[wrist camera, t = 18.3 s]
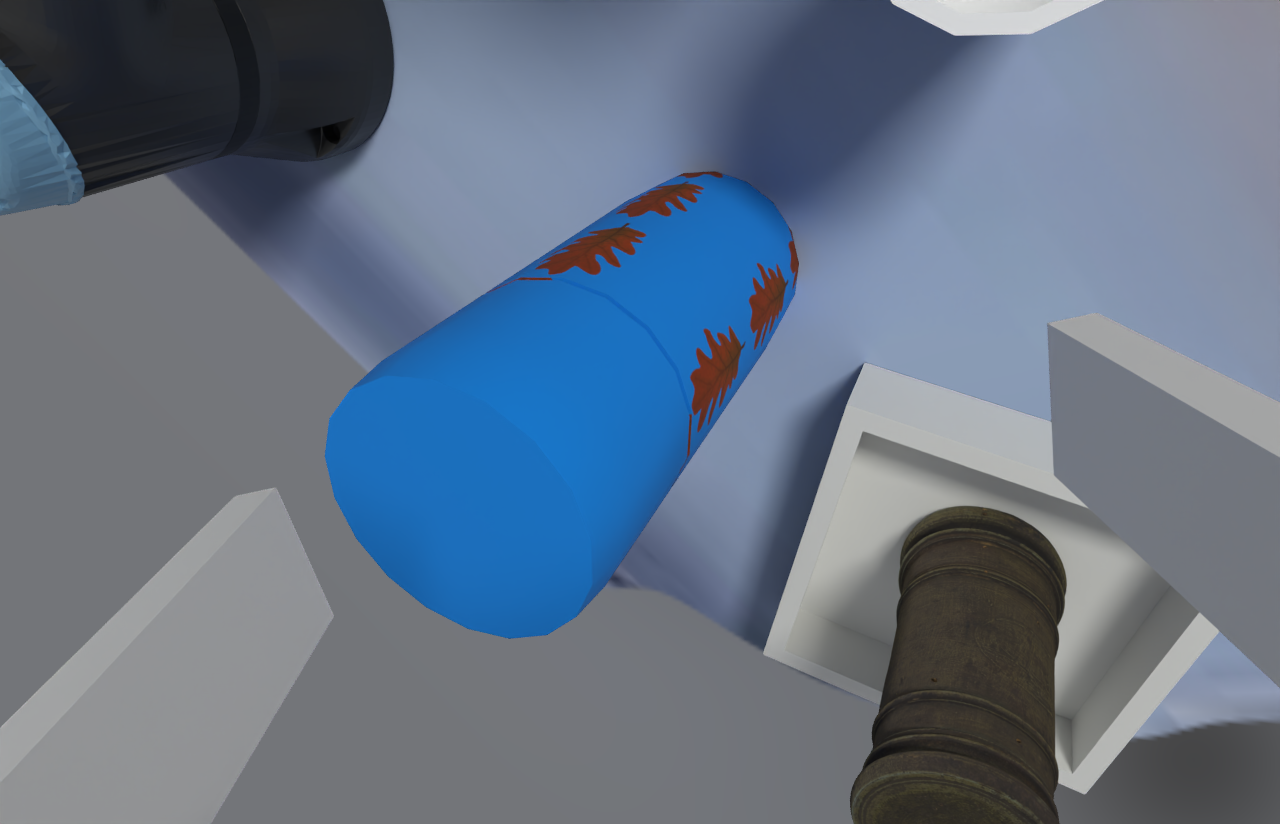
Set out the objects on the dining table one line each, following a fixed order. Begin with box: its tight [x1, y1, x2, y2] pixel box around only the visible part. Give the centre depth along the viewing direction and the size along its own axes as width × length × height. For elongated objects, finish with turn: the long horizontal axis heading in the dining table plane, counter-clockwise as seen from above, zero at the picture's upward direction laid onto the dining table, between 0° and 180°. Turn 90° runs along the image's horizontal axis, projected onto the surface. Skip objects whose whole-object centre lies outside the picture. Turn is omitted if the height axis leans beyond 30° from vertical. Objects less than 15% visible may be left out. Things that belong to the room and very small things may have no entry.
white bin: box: [763, 363, 1219, 794], centre depth 46 cm, size 20×20×5 cm
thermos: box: [325, 172, 799, 639], centre depth 36 cm, size 11×11×25 cm
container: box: [850, 506, 1067, 824], centre depth 40 cm, size 9×9×18 cm
